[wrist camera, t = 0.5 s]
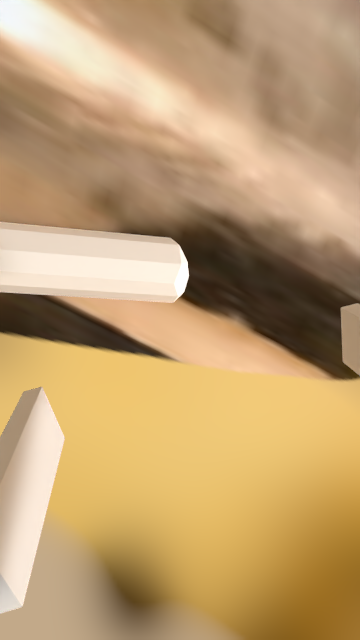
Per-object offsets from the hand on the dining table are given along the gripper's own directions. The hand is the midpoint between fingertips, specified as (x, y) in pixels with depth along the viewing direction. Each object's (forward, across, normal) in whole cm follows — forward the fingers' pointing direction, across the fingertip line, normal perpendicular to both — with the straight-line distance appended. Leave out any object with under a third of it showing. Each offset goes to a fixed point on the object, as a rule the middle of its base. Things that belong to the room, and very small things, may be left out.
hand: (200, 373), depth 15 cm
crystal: (+28, -8, +1) cm, 29 cm away
